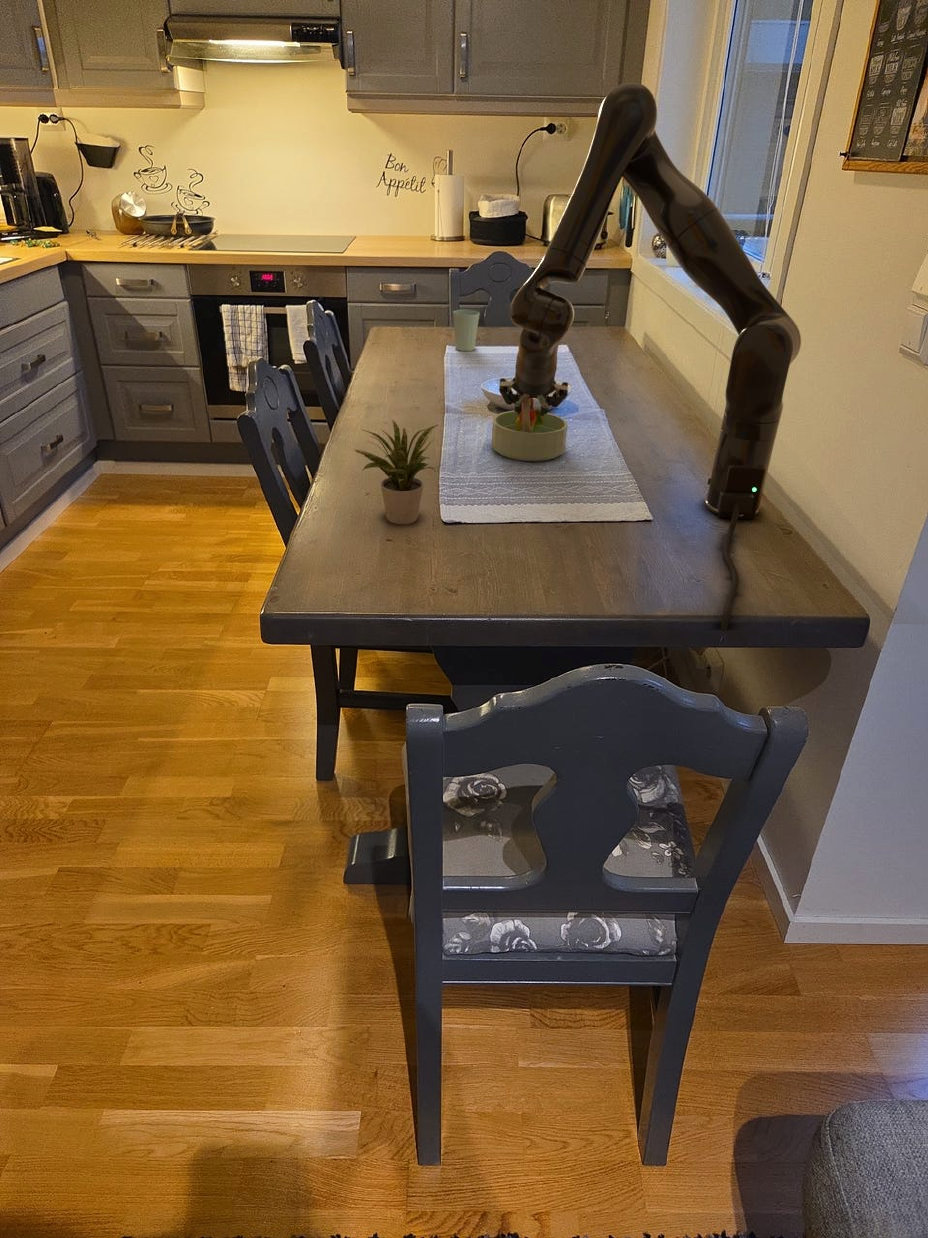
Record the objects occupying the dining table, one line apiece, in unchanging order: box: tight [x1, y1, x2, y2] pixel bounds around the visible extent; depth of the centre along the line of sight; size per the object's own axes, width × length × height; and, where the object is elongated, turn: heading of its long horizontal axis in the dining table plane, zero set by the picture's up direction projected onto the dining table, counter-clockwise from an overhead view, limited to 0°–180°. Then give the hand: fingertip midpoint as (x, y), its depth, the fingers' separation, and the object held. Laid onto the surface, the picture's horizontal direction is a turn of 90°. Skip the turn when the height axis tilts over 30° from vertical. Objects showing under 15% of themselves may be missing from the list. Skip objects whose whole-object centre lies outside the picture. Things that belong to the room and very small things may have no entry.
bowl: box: [490, 410, 568, 462], centre depth 172 cm, size 15×15×6 cm
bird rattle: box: [515, 398, 545, 433], centre depth 169 cm, size 6×11×9 cm
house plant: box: [354, 419, 440, 525], centre depth 139 cm, size 14×14×16 cm
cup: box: [452, 309, 480, 352], centre depth 245 cm, size 8×8×10 cm
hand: (530, 411), depth 172 cm, fingers closed on bird rattle, 4 cm apart
